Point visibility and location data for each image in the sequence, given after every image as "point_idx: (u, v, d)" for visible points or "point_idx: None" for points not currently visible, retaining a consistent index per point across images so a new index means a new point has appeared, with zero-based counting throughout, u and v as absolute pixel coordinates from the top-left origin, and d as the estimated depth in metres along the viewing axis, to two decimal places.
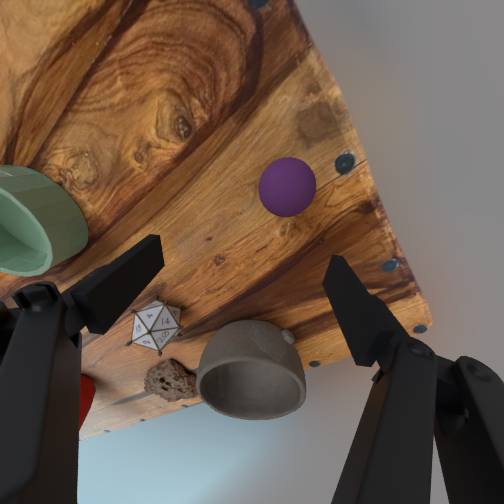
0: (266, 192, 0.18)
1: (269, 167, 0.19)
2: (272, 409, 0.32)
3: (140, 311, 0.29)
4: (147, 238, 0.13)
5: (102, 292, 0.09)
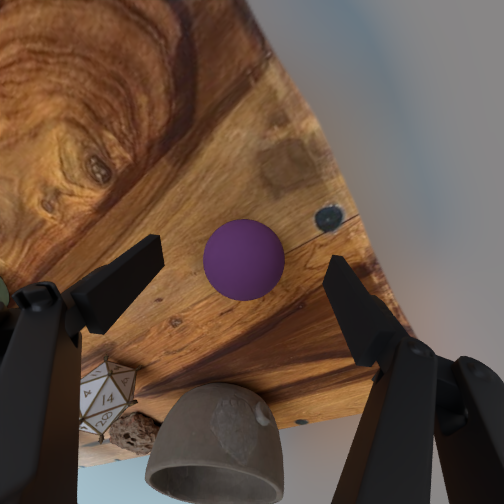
0: (208, 275, 0.12)
1: (213, 237, 0.13)
2: (246, 494, 0.26)
3: None
4: (147, 238, 0.13)
5: (102, 292, 0.09)
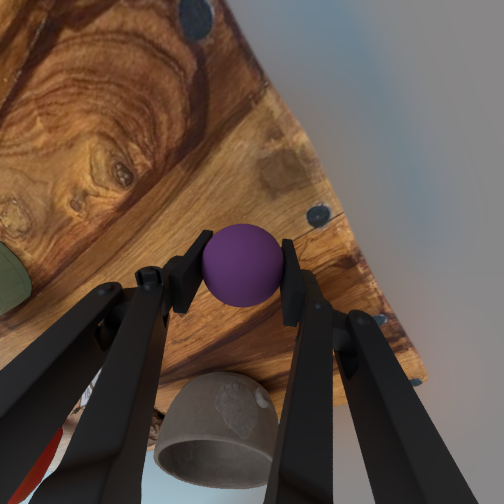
0: (206, 281, 0.12)
1: (211, 242, 0.12)
2: (247, 476, 0.28)
3: None
4: (203, 233, 0.15)
5: (187, 277, 0.11)
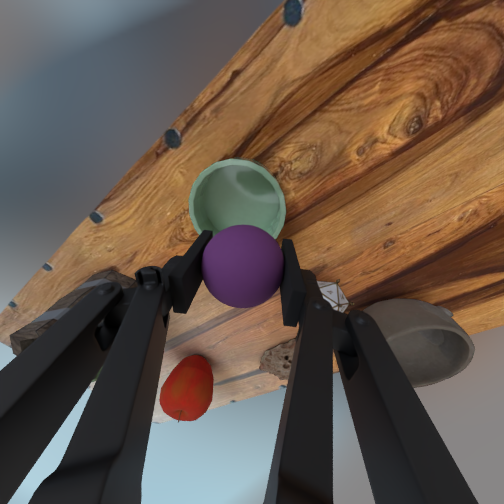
0: (206, 282, 0.12)
1: (211, 242, 0.12)
2: (419, 378, 0.36)
3: None
4: (204, 233, 0.15)
5: (187, 277, 0.11)
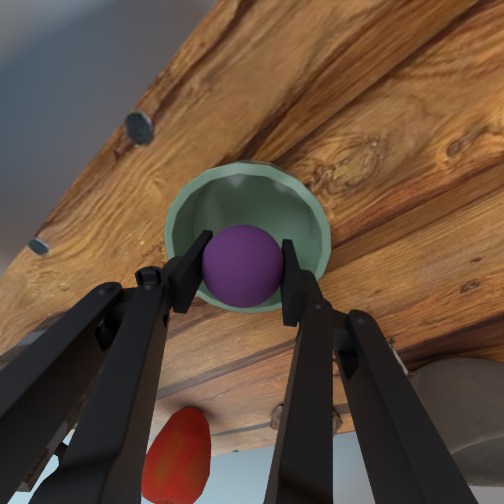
0: (206, 282, 0.12)
1: (211, 242, 0.12)
2: (502, 472, 0.25)
3: None
4: (204, 233, 0.15)
5: (187, 277, 0.11)
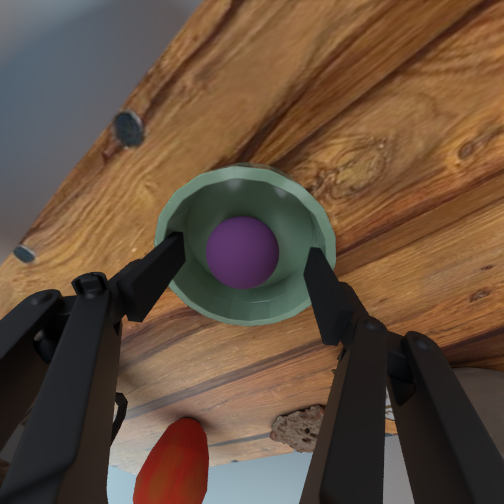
0: (209, 263, 0.14)
1: (215, 230, 0.14)
2: None
3: None
4: (172, 234, 0.14)
5: (141, 283, 0.10)
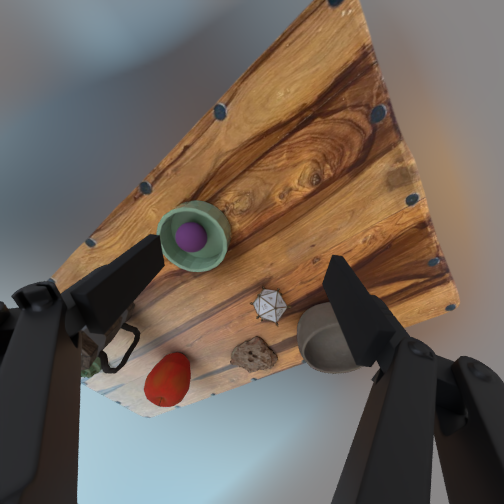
0: None
1: (179, 227, 0.36)
2: (348, 365, 0.45)
3: (263, 295, 0.42)
4: (147, 238, 0.13)
5: (102, 292, 0.09)
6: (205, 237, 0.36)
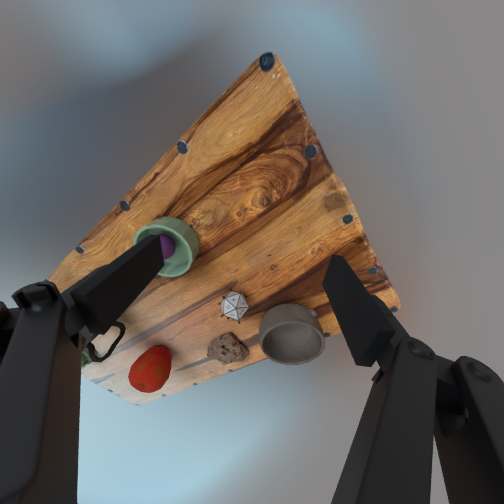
0: None
1: None
2: (302, 358, 0.52)
3: (227, 297, 0.49)
4: (147, 238, 0.13)
5: (102, 292, 0.09)
6: (172, 247, 0.43)
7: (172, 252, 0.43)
